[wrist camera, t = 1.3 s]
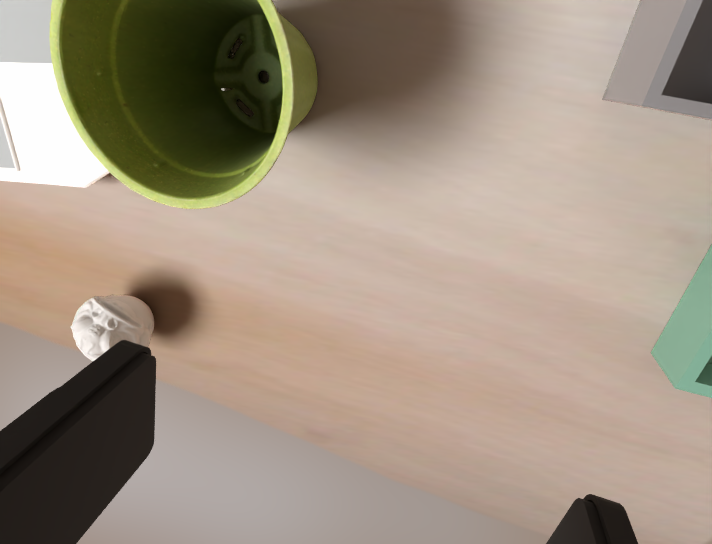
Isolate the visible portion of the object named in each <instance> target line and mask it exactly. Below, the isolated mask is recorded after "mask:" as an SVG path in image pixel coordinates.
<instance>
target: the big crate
mask: <svg viewBox="0 0 712 544" xmlns="http://www.w3.org/2000/svg"><path fill="white" fill-rule="evenodd" d="M651 354H652V355H653V357H654V358H655V360H656V361H657V363H658V364H659V366H660V367H661V369H662V370H663V371H664V373H665V374H666V376H667V377H668V379H669V380H670V382H671V383H672V385H673V386H674V387H675V388H676V389H679V390H683V391H687V392H691V393H695V394H699V395H702V396H706V397H710V398H712V245H711V247H710V249H709V250H708V252H707V254H706V256H705V257H704V259H703V261H702V263H701V264H700V266H699V268H698V270H697V272H696V273H695V275H694V277H693V279H692V280H691V282H690V284H689V286H688V288H687V289H686V291H685V293H684V295H683V296H682V298H681V300H680V302H679V304H678V305H677V307H676V309H675V311H674V312H673V314H672V316H671V318H670V320H669V321H668V323H667V325H666V327H665V328H664V330H663V332H662V334H661V336H660V337H659V339H658V341H657V343H656V344H655V346H654V348H653V350H652V352H651Z"/></svg>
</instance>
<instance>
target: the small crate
mask: <svg viewBox="0 0 712 544" xmlns="http://www.w3.org/2000/svg"><path fill="white" fill-rule="evenodd" d="M602 100H608V101H613V102H618V103H623V104H629V105H634V106H639V107H644V108H650V109H655V110H660V111H666V112H671V113H676V114H681V115H687V116H692V117H697V118H702V119H708V120H712V0H640V3H639V5H638V8H637V10H636V13H635V15H634V18H633V21H632V23H631V26H630V28H629V31H628V34H627V36H626V39H625V41H624V44H623V47H622V49H621V52H620V54H619V57H618V59H617V62H616V65H615V67H614V70H613V72H612V75H611V78H610V80H609V83H608V85H607V88H606V90H605V93H604V96H603V98H602Z"/></svg>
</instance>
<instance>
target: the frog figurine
mask: <svg viewBox="0 0 712 544" xmlns="http://www.w3.org/2000/svg"><path fill="white" fill-rule="evenodd" d="M72 324H73V325H72V326H71V329H72V331H73V336H74V339H75V341H76V345H77V347H78V348H79V349H80V350H81V352H82V353H83V354H84V355H85V356H86V357H87V358H89V359H90V360H91V361H94V360H96V359H97V358H98V357H100V356H101V355H102V354H103V353H105V352H106V351H107V350H109V349H110V348H111V347H112V346H114V345H115V344H116V343H118V342H119V341H121V340H127V341H130V342H133V343H136V344H139V345H142V346H145V347H148V346H149V344H150V340H151V335H152V332H153V330H154V317H153V314H152V312H151V310H150V308H149V307H148V306H147V305H146V303H144V302H143V301H142V300H140V299H138V298H136V297H133V296H129V295H110V296H107V297H103V296H95V297H93V298H91V299H89V300H87V301H86V302H85V303H84V304H83V305H82V306H81V307H80V308H79V309H78V311H77V313H76V315H75V318H74V320H73V323H72Z"/></svg>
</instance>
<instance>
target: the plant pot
mask: <svg viewBox="0 0 712 544" xmlns="http://www.w3.org/2000/svg"><path fill="white" fill-rule="evenodd" d="M238 38H240V39H241V40H242V41H243V42H242V44H241V45H240V46H239V48H238V50H237V51H236V53H235V56H234V58H233V59H231V58H228V55H229V53H230V52H231V48H232V46H233V44H234V43H235V42H236V40H237V39H238ZM50 52H51V60H52V64H53V70H54V75H55V79H56V82H57V87H58V90H59V93H60V96H61V99H62V101H63V104H64V106H65V108H66V111H67V113H68V115H69V117H70V119H71V121H72V123H73V125H74V127H75V129H76V131H77V132H78V134H79V136H80V137H81V139H82V140H83V142H84V143H85V144H86V146H87V147H88V149H89V150H90V151H91V152H92V154H93V155H94V156H95V157H96V158H97V159H98V160H99V161H100V163H101V164H102V165H103V166H104V167H105V168H106V169H107V170H108V171H109V172H110V173H111V174H112V175H113V176H114V177H116V178H117V179H118V180H119V181H121V182H122V183H123V184H125V185H126V186H128V187H129V188H130V189H132V190H133V191H135V192H137V193H139V194H140V195H142V196H144V197H146V198H148V199H151V200H153V201H156V202H159V203H162V204H165V205H168V206H172V207H177V208H186V209H204V208H211V207H216V206H220V205H223V204H226V203H229V202H231V201H233V200H235V199H237V198H239V197H241V196H243V195H244V194H246V193H247V192H249V191H250V190H251V189H253V188H254V187H255V186H256V185H257V184H258V183H259V182H260V181H261V180H262V179H263V178H264V177H265V176H266V175H267V173H268V172H269V171H270V169H271V168H272V167H273V165H274V163H275V162H276V160H277V158H278V156H279V155H280V153H281V151H282V149H283V146H284V144H285V141H286V139H287V135H288V134H289V133H290V132H291V131H292V130H293V129H294V128H295V127H296V126H297V125H298V124H299V123H300V122H301V121H302V120H303V119H304V118H305V117H306V115H307V114H308V112H309V111H310V109H311V107H312V105H313V102H314V100H315V97H316V92H317V86H318V78H317V68H316V63H315V58H314V55H313V52H312V50H311V48H310V46H309V45H308V43H307V41H306V40H305V38H304V37H303V35H302V34H301V33H300V32H299V31H298V29H296V28H295V27H294V26H293V25H292V24H291V23H290V22H289V21H287V20H286V19H285V18H284V17H283V16H282V15H280V14H279V13H278V11H277V9H276V7H275V5H274V3H273V1H272V0H52V4H51V20H50ZM227 58H228V59H227ZM261 71H266V72H267V73H268V76H269V80H268V82H266V83H262V82H261V81H260V80H259V73H260V72H261ZM221 88H233V90H229V91H228V90H227V91H222V90H221ZM234 88H235V89H234ZM238 99H239V100H241V101H242V102H243V103H244V104H245V105H246V106H247V107H248V108H249V109H251V110H252V111H253V113H254V115H253V116H251V117H249V116H247V115H246V114H245V113H244V112H243V111H241V109H240V108H239V107H238V106H237V104H236V100H238Z"/></svg>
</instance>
